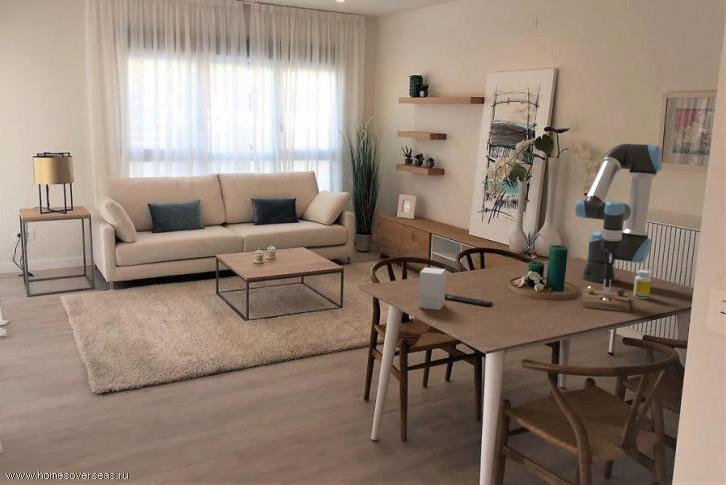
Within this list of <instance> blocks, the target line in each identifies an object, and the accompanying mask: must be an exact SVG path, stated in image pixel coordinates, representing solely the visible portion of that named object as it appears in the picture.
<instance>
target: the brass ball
mask: <svg viewBox="0 0 726 485" xmlns="http://www.w3.org/2000/svg"><path fill="white" fill-rule="evenodd" d="M586 289H587V292H588V293H590V294H592V293H594V292H595V290H596V287H594V286H592V285H589V286H587V287H586Z"/></svg>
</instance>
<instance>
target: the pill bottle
mask: <svg viewBox="0 0 726 485" xmlns="http://www.w3.org/2000/svg"><path fill="white" fill-rule="evenodd" d="M651 283H652V278H651V277H650V270H644V269H639V270H638V269H637V275H636V276H635V277H634V284H633V292H632V295H633V298H634V297H635V298H637V299H642V300H647V299H649V298H650V293H651V292H650V291H651Z"/></svg>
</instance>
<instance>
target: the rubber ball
mask: <svg viewBox="0 0 726 485" xmlns="http://www.w3.org/2000/svg"><path fill="white" fill-rule="evenodd" d="M616 292H617V294H618V295H624V293H626V292H625V289H624V288H623V287H619V288H617V290H616Z"/></svg>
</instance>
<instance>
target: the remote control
mask: <svg viewBox="0 0 726 485" xmlns="http://www.w3.org/2000/svg"><path fill="white" fill-rule="evenodd" d="M445 299H446V301H451V300H452V301H451V302H456V301H457V303H462V302H463V304H470V305H474V306H480V307H486V308H489V307H492V306H493V301H489V300H483V299H477V298H471V297H464V296H460V295H453V294H448V293H445Z"/></svg>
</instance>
